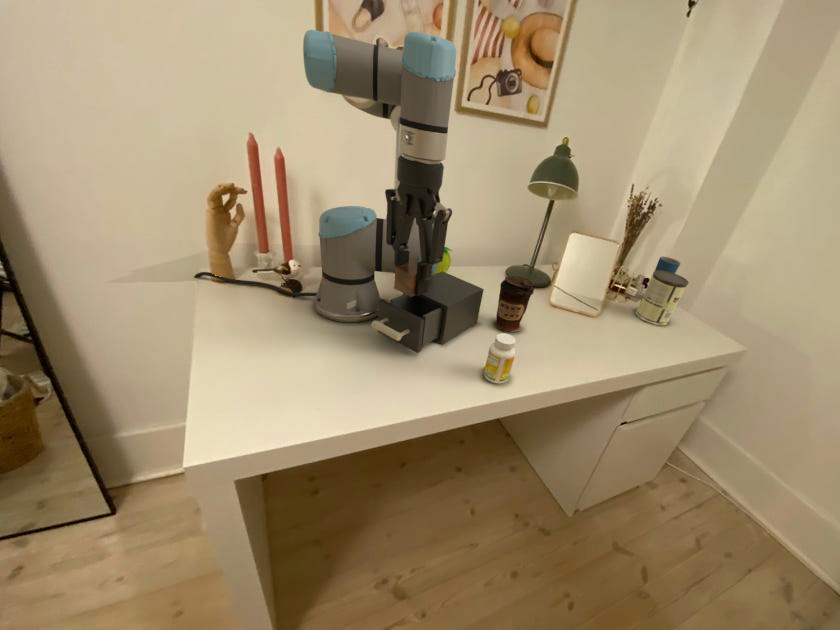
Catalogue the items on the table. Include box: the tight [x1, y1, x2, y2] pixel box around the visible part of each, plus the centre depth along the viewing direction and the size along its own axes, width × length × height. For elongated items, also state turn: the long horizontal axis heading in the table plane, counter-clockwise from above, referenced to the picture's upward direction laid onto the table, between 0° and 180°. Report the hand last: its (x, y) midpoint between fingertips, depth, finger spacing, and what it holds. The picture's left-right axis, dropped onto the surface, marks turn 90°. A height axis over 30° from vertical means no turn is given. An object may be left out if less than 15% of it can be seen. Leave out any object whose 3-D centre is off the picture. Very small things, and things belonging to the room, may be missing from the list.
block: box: [393, 262, 417, 297], centre depth 73 cm, size 4×4×4 cm
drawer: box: [371, 293, 444, 354], centre depth 83 cm, size 18×12×8 cm, turn 147°
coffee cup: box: [495, 275, 535, 332], centre depth 95 cm, size 9×8×13 cm
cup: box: [654, 256, 681, 274], centre depth 130 cm, size 7×7×15 cm
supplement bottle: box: [483, 332, 516, 384], centre depth 77 cm, size 5×5×10 cm
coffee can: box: [635, 270, 689, 326], centre depth 117 cm, size 10×10×14 cm
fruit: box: [432, 246, 453, 275], centre depth 115 cm, size 9×9×10 cm
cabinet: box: [402, 271, 484, 345], centre depth 91 cm, size 15×13×10 cm
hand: (410, 288), depth 75 cm, fingers closed on block, 4 cm apart
